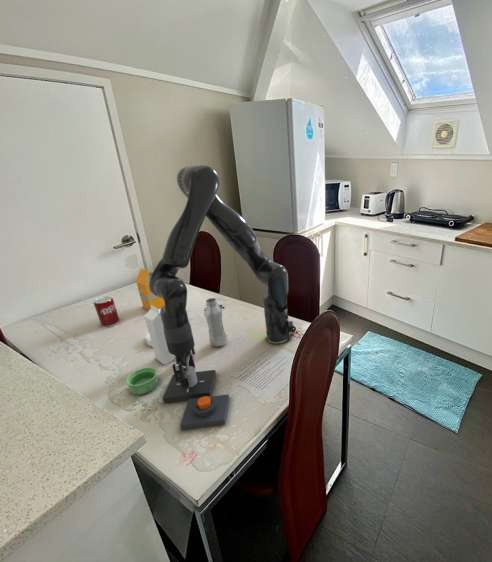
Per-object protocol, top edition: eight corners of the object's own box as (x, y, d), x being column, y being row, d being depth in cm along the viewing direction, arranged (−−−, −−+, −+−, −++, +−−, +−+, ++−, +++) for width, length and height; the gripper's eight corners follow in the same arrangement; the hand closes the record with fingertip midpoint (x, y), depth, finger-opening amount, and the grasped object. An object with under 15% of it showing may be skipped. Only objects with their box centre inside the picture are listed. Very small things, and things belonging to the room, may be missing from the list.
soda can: (97, 325, 141) (89, 301, 136) (112, 317, 147) (105, 295, 142) (108, 328, 139) (100, 304, 134) (123, 320, 145) (116, 297, 140)
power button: (212, 399, 94) (211, 395, 93) (210, 408, 91) (209, 404, 90) (199, 401, 93) (198, 396, 93) (197, 410, 90) (196, 406, 89)
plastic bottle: (222, 349, 123) (214, 304, 115) (207, 347, 124) (198, 303, 116) (230, 340, 129) (223, 297, 121) (215, 338, 130) (207, 295, 122)
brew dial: (185, 379, 104) (181, 366, 102) (198, 377, 105) (196, 364, 102) (181, 388, 100) (178, 375, 98) (195, 386, 101) (192, 373, 98)
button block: (229, 399, 99) (227, 389, 97) (225, 425, 90) (223, 414, 88) (190, 404, 97) (187, 394, 96) (181, 430, 88) (178, 420, 86)
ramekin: (127, 399, 99) (124, 388, 98) (131, 381, 107) (127, 371, 105) (158, 391, 103) (155, 380, 101) (160, 374, 110) (157, 364, 108)
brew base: (216, 375, 109) (215, 369, 108) (210, 398, 99) (209, 391, 98) (174, 380, 107) (172, 374, 106) (164, 404, 97) (162, 397, 96)
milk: (171, 351, 123) (158, 301, 114) (179, 357, 119) (167, 305, 111) (155, 359, 118) (141, 307, 109) (164, 365, 115) (149, 312, 106)
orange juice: (158, 301, 162) (149, 265, 154) (167, 306, 157) (158, 269, 149) (142, 307, 156) (132, 270, 148) (151, 312, 151) (141, 274, 143)
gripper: (185, 348, 89) (196, 392, 95) (196, 322, 102) (205, 362, 108) (158, 350, 88) (170, 395, 94) (172, 324, 101) (182, 365, 107)
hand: (188, 377), depth 101 cm, fingers open, 8 cm apart
